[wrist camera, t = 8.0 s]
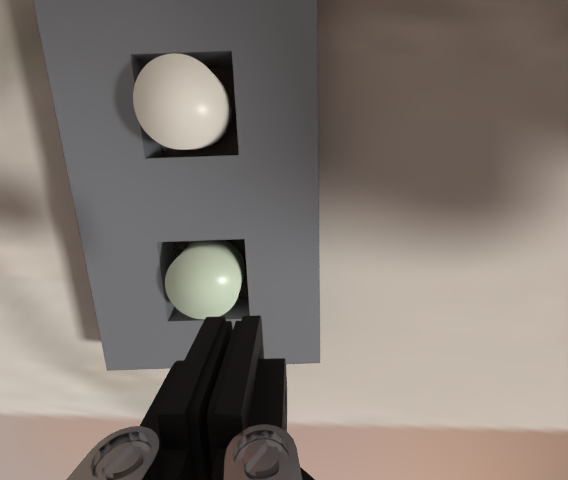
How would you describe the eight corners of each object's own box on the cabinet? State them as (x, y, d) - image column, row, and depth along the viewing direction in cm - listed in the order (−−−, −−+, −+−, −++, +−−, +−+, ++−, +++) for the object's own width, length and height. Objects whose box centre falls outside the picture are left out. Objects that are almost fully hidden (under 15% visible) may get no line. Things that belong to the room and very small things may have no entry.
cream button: (228, 66, 19) (219, 51, 16) (234, 147, 20) (226, 148, 17) (149, 69, 19) (126, 55, 16) (160, 150, 20) (140, 151, 17)
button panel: (308, -239, 17) (314, -319, 14) (315, 338, 25) (320, 362, 22) (25, -228, 17) (-29, -306, 14) (127, 344, 25) (107, 370, 22)
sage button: (242, 235, 22) (236, 248, 20) (246, 297, 24) (242, 318, 21) (175, 238, 22) (160, 251, 20) (183, 299, 24) (169, 320, 21)
